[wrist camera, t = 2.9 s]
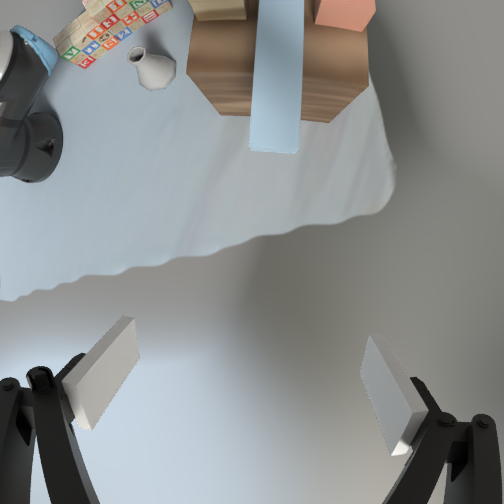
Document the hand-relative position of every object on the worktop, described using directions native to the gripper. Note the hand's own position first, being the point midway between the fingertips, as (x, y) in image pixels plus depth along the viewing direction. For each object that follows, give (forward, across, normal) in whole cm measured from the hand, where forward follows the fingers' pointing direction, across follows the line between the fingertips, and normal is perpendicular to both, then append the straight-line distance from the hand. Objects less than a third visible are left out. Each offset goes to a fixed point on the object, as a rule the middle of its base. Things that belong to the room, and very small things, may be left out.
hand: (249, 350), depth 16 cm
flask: (+37, -20, +28) cm, 51 cm away
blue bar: (+15, +1, +22) cm, 27 cm away
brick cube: (+15, +7, +28) cm, 33 cm away
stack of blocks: (+37, -30, +40) cm, 62 cm away
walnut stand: (+37, +1, +26) cm, 45 cm away
